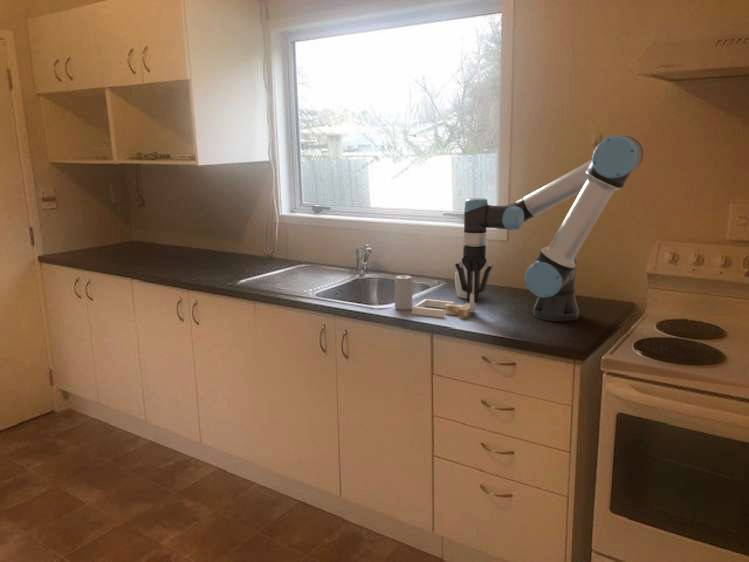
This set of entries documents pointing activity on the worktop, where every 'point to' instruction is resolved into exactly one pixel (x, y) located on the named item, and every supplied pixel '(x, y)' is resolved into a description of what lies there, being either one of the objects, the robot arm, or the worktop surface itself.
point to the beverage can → (403, 292)
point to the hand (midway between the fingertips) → (472, 311)
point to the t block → (458, 310)
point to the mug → (458, 284)
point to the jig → (421, 309)
